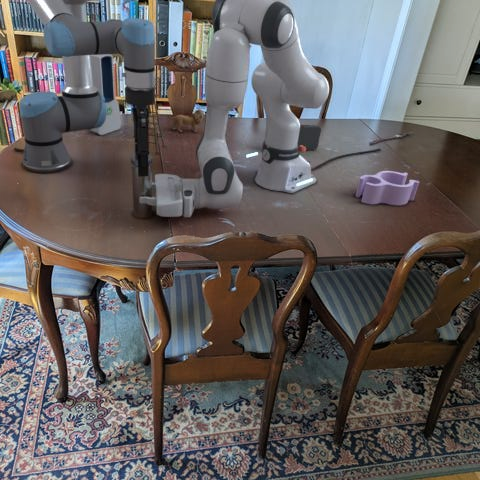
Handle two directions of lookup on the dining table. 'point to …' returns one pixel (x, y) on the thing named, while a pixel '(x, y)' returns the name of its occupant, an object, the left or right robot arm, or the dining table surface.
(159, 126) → the miniature windmill
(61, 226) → the dining table surface
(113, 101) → the electronic device
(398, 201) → the clip
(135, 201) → the jar
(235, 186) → the right robot arm
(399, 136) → the sword
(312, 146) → the handheld gaming console
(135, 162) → the lid
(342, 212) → the dining table surface
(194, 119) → the lion figurine
